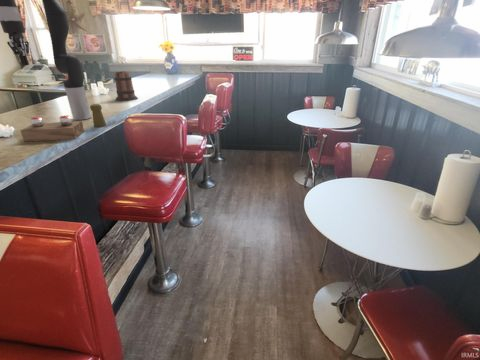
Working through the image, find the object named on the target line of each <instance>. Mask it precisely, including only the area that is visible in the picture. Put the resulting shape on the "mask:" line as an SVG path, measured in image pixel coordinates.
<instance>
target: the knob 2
mask: <svg viewBox="0 0 480 360" xmlns="http://www.w3.org/2000/svg"><path fill="white" fill-rule="evenodd" d="M58 118H59V122H61V125H65V126H66V125H70V124H72V122H73V121H72V118H71V116H70V115H61V116H59V117H58Z"/></svg>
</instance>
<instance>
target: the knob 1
mask: <svg viewBox="0 0 480 360" xmlns="http://www.w3.org/2000/svg"><path fill="white" fill-rule="evenodd" d="M29 121H30V123H31V124H30V125H32V127H40V126H43V125H44V124H43V123H44V121H43V118H42V117H41V116H34V117H30V119H29Z"/></svg>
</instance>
